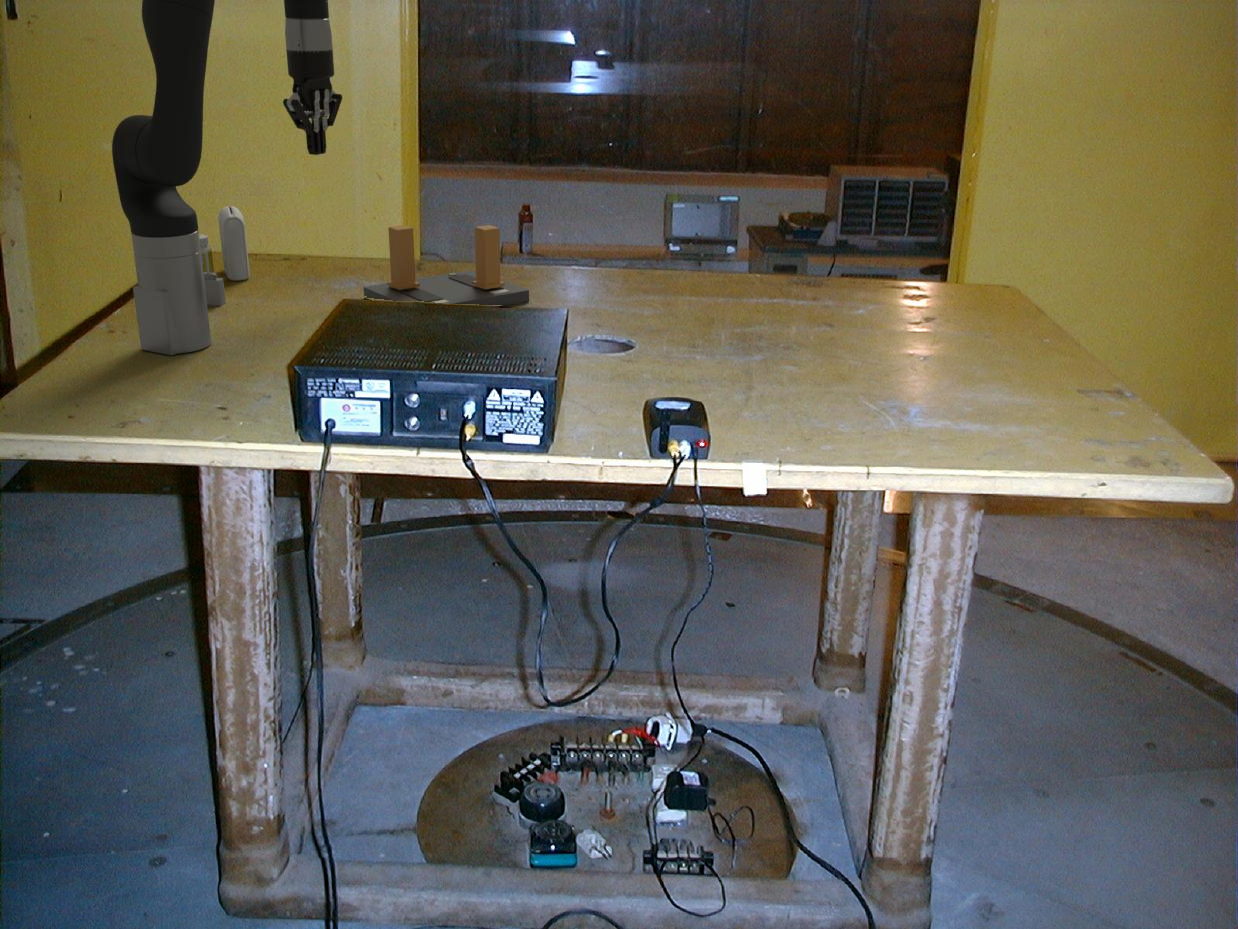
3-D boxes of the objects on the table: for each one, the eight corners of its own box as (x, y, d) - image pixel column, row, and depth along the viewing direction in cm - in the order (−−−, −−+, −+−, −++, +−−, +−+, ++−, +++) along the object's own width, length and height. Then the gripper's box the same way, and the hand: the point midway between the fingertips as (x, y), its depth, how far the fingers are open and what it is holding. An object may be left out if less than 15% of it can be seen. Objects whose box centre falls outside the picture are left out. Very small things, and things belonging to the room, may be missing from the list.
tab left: (399, 289, 206) (396, 230, 202) (387, 285, 208) (384, 226, 205) (419, 286, 208) (417, 228, 204) (407, 281, 211) (405, 224, 207)
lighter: (226, 303, 205) (221, 256, 202) (221, 305, 204) (216, 258, 201) (186, 300, 206) (180, 254, 203) (181, 303, 205) (175, 256, 202)
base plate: (417, 321, 197) (417, 308, 196) (364, 298, 210) (363, 285, 209) (529, 301, 210) (529, 288, 209) (472, 280, 223) (471, 268, 222)
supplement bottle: (204, 278, 220) (199, 232, 217) (220, 282, 218) (215, 236, 215) (181, 283, 217) (176, 236, 214) (198, 287, 214) (192, 240, 211)
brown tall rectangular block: (485, 289, 207) (483, 230, 203) (472, 284, 210) (470, 226, 206) (504, 286, 209) (503, 228, 206) (491, 281, 212) (490, 224, 208)
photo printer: (222, 269, 227) (215, 202, 223) (246, 267, 229) (240, 201, 224) (226, 282, 218) (219, 213, 214) (251, 280, 220) (244, 211, 215)
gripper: (301, 50, 195) (309, 160, 202) (352, 46, 206) (359, 150, 213) (264, 48, 198) (273, 157, 205) (317, 44, 209) (324, 147, 216)
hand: (317, 153), depth 209 cm, fingers closed
